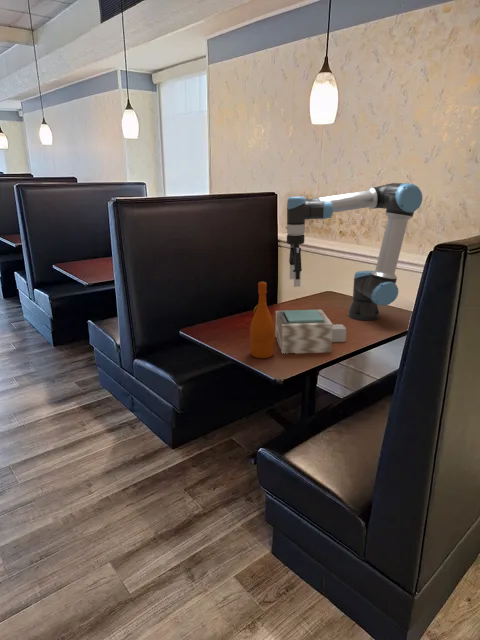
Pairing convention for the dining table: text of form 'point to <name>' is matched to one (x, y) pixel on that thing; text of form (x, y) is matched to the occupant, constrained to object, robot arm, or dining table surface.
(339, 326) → the light grey cube
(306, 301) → the dining table surface
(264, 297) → the wine bottle
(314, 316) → the trapdoor
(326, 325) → the crate
